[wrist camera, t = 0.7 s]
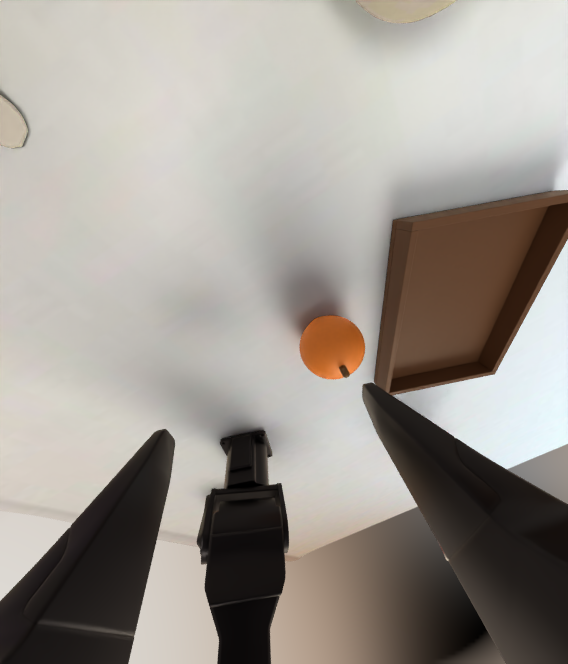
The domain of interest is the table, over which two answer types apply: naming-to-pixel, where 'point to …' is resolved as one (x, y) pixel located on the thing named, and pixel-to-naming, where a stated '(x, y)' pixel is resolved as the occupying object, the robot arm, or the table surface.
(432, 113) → the table surface
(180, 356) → the table surface
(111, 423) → the table surface
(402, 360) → the tray
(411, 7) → the teacup
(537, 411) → the table surface
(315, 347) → the tangerine
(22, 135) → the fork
